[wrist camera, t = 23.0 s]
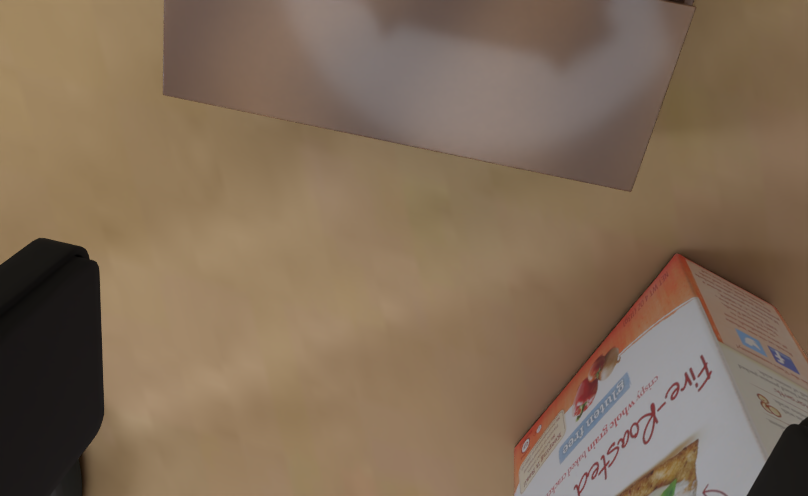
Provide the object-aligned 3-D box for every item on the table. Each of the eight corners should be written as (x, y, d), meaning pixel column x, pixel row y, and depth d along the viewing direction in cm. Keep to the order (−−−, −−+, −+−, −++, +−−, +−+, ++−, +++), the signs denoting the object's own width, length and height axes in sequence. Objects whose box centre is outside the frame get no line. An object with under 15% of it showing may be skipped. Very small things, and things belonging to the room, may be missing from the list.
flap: (694, 5, 22) (696, 7, 21) (629, 189, 24) (631, 192, 24) (169, -100, 22) (164, -100, 22) (166, 92, 25) (162, 95, 25)
